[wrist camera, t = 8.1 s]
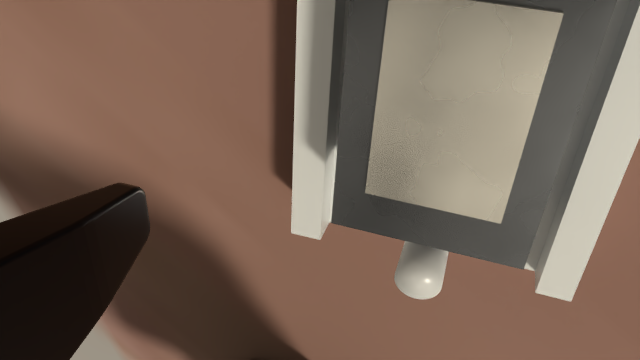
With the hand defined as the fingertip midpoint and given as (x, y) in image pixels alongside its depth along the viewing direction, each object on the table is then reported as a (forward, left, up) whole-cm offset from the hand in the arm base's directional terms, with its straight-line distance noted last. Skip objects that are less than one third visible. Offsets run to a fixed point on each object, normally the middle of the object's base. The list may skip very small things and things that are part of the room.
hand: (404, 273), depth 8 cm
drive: (0, 0, -11) cm, 11 cm away
